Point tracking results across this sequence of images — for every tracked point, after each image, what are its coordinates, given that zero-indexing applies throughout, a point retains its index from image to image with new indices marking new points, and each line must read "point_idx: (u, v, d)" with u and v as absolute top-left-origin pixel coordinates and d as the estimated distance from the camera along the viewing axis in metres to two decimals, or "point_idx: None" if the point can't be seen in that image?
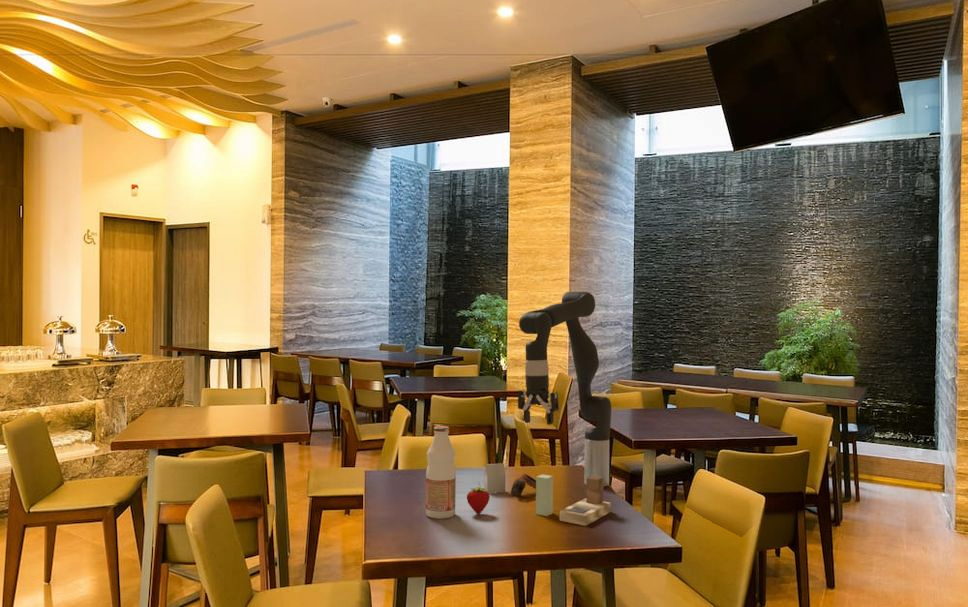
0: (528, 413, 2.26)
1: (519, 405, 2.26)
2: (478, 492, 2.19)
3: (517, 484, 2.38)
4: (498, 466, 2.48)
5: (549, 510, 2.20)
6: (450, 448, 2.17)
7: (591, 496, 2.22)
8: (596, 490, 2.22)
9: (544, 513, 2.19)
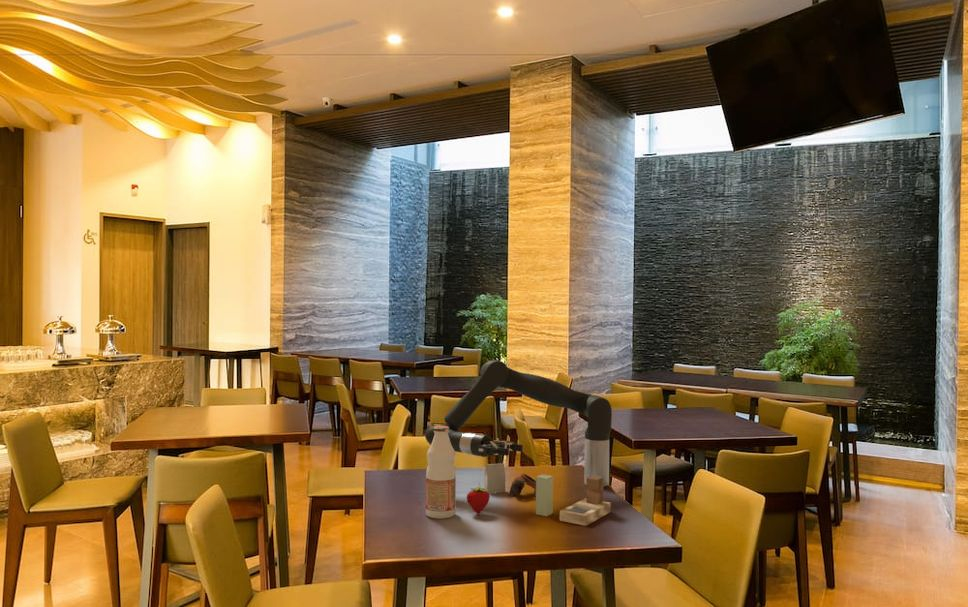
0: (514, 446, 2.32)
1: None
2: (478, 492, 2.19)
3: (516, 484, 2.39)
4: (498, 466, 2.48)
5: (549, 510, 2.20)
6: (450, 448, 2.17)
7: (591, 496, 2.22)
8: (596, 490, 2.22)
9: (544, 513, 2.19)
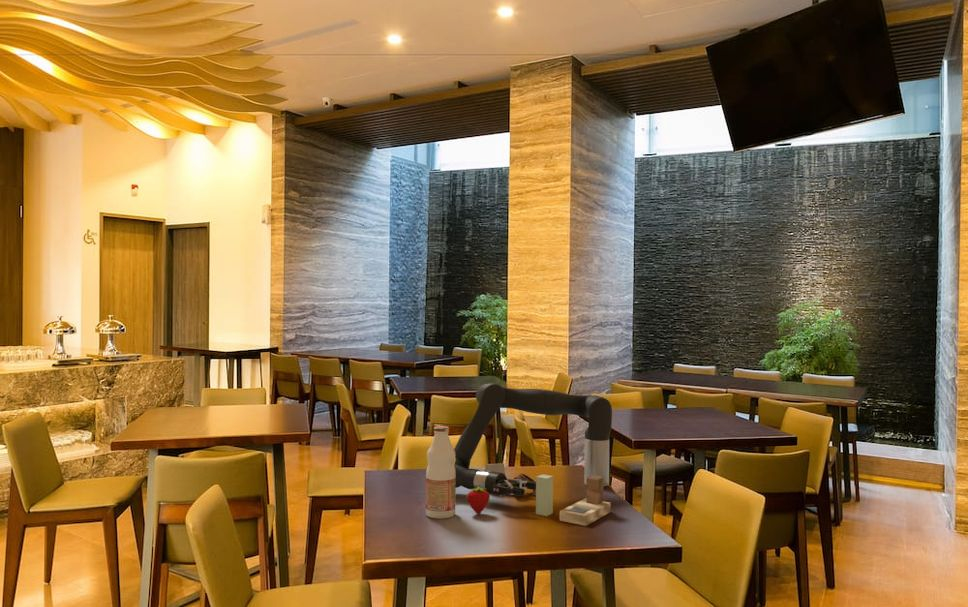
0: (529, 484, 2.29)
1: None
2: (478, 492, 2.19)
3: None
4: (498, 466, 2.48)
5: (549, 510, 2.20)
6: (450, 448, 2.17)
7: (591, 496, 2.22)
8: (596, 490, 2.22)
9: (544, 513, 2.19)
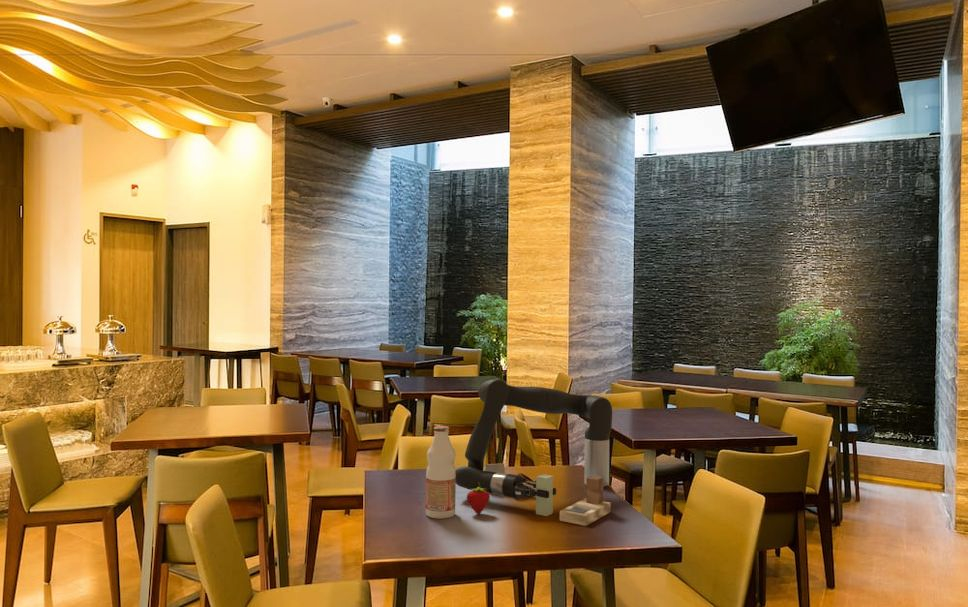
0: None
1: None
2: (478, 492, 2.19)
3: None
4: (498, 466, 2.48)
5: (549, 510, 2.20)
6: (450, 448, 2.17)
7: (591, 496, 2.22)
8: (596, 490, 2.22)
9: (544, 513, 2.19)
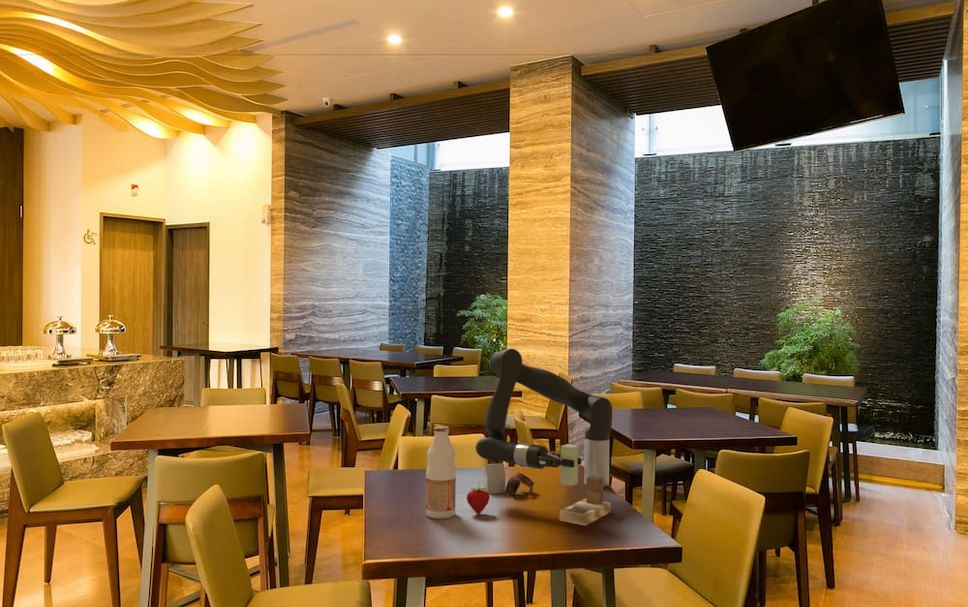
0: None
1: None
2: (478, 492, 2.19)
3: (512, 483, 2.40)
4: (498, 466, 2.48)
5: (574, 480, 2.16)
6: (450, 448, 2.17)
7: (591, 496, 2.22)
8: (596, 490, 2.22)
9: (569, 483, 2.15)
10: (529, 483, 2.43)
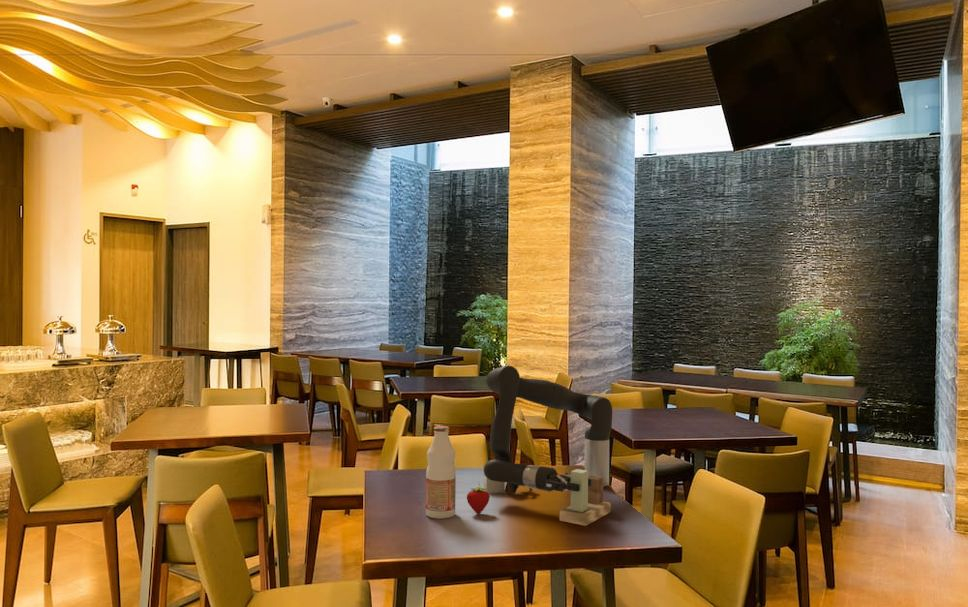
0: None
1: None
2: (478, 492, 2.19)
3: None
4: None
5: (584, 506, 2.14)
6: (450, 448, 2.17)
7: (591, 496, 2.22)
8: (596, 490, 2.22)
9: (579, 509, 2.13)
10: None
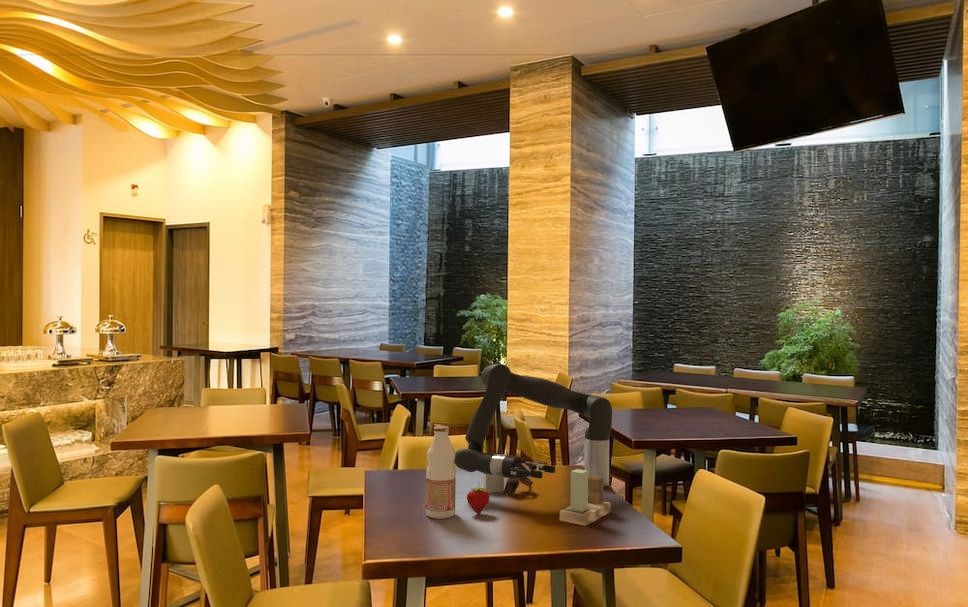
0: (546, 467, 2.27)
1: None
2: (478, 492, 2.19)
3: (511, 482, 2.41)
4: None
5: (584, 506, 2.14)
6: (450, 448, 2.17)
7: (591, 496, 2.22)
8: (596, 490, 2.22)
9: (579, 509, 2.13)
10: (528, 482, 2.44)
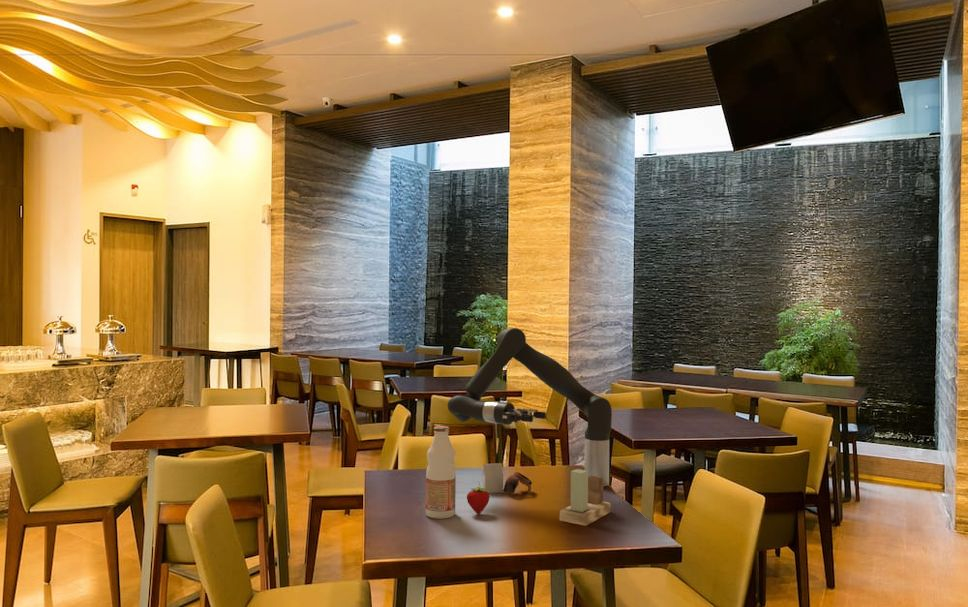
0: (537, 413, 2.33)
1: None
2: (478, 492, 2.19)
3: (510, 482, 2.41)
4: (496, 466, 2.48)
5: (584, 506, 2.14)
6: (450, 448, 2.17)
7: (591, 496, 2.22)
8: (596, 490, 2.22)
9: (579, 509, 2.13)
10: (527, 482, 2.44)
